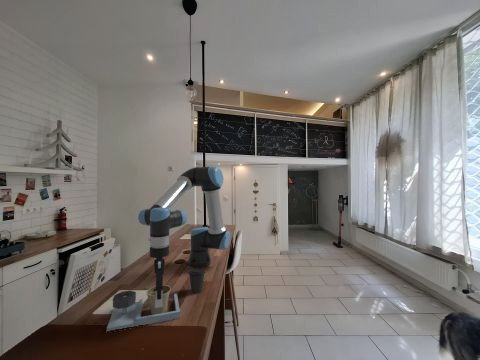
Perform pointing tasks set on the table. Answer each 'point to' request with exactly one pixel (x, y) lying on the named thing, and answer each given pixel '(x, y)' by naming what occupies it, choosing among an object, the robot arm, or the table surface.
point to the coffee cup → (196, 280)
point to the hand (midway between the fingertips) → (158, 298)
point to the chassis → (139, 316)
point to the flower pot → (151, 297)
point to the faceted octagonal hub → (124, 299)
